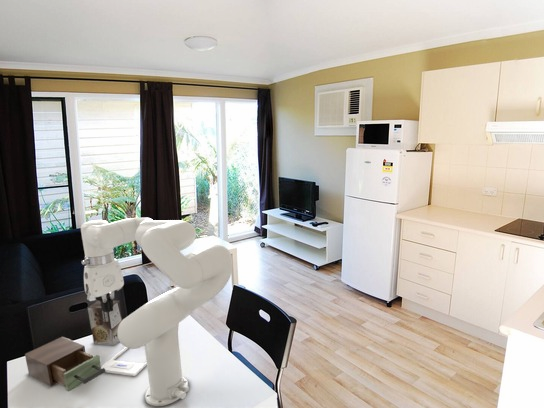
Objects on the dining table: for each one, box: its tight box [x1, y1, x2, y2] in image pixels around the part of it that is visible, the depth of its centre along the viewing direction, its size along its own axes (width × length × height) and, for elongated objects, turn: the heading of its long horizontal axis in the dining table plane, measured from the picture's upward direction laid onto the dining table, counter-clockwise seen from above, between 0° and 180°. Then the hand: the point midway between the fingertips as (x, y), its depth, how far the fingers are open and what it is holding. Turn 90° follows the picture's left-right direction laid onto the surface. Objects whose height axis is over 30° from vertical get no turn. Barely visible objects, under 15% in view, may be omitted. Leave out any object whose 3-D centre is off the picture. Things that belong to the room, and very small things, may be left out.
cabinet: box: [24, 336, 87, 387], centre depth 123 cm, size 14×12×8 cm
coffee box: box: [87, 300, 123, 346], centre depth 140 cm, size 9×6×16 cm
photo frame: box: [101, 346, 147, 377], centre depth 130 cm, size 15×1×18 cm
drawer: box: [50, 350, 106, 392], centre depth 118 cm, size 19×10×6 cm, turn 65°
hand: (108, 310), depth 116 cm, fingers closed
